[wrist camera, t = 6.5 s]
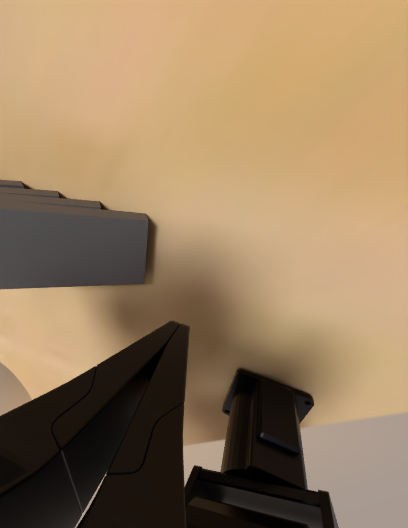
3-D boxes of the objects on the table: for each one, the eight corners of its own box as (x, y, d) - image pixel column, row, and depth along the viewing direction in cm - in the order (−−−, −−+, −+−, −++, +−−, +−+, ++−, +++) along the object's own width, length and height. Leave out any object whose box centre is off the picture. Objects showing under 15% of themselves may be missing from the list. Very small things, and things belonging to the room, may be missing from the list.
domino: (144, 283, 15) (-38, 290, 11) (142, 273, 17) (-22, 275, 13) (148, 220, 13) (-77, 202, 9) (145, 213, 14) (-53, 194, 10)
